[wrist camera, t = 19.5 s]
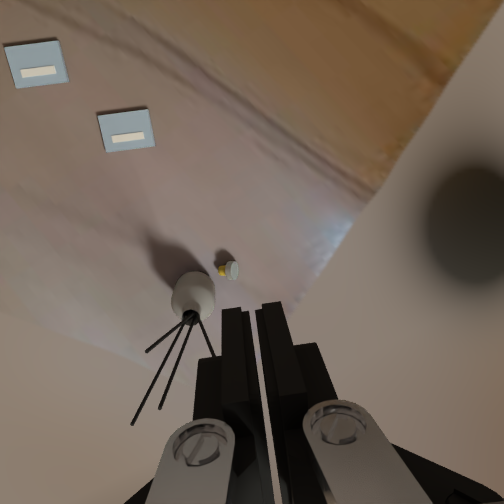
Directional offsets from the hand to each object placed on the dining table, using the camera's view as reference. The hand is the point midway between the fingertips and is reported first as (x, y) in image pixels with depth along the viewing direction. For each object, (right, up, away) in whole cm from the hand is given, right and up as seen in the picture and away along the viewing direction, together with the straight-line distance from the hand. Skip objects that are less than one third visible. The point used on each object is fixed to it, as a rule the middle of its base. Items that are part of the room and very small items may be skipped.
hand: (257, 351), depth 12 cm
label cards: (-17, +18, +30) cm, 39 cm away
